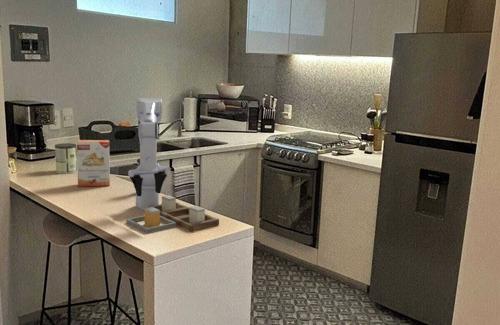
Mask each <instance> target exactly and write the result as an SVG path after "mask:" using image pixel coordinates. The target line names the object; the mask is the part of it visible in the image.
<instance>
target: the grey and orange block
mask: <svg viewBox="0 0 500 325" xmlns="http://www.w3.org/2000/svg"><path fill="white" fill-rule="evenodd" d="M144 215H145V220H144V226H146V227H148V228H151V227H155V226H160V225H161V224H160V222H161V221H160V210H158V209H156V208H154V207H148V208H145V211H144Z"/></svg>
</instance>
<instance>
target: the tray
mask: <svg viewBox="0 0 500 325" xmlns="http://www.w3.org/2000/svg"><path fill="white" fill-rule="evenodd" d="M125 220H126V224H128V225H130V226H132V227H133V228H135V229H138V230H139V231H141V232H143V233H145V234H151V233H154V232H159V231H163V230H169V229H171V228H176V227H177V225H176V222H173V221H171V220H169V219H167V218H164V217H162V216H160V222H162V223H164V224H160V226H155V227H147V226H145V225H142V224H140V223H138V222H142V221H145V214H144V215H140V216H139V215H138V216H135V217H129V218H126V219H125Z"/></svg>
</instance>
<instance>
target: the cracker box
mask: <svg viewBox="0 0 500 325" xmlns="http://www.w3.org/2000/svg"><path fill="white" fill-rule="evenodd" d="M110 155H111V154H110V140H109V139H103V140H102V139H101V140H99V139H98V140H97V139H96V140H94V139H78V140H77V141H76V158H77V187H78V188H79V187H110V186H111V185H110V184H111V175H110V174H111V173H110V172H111V170H110V168H111V167H110V166H111V163H110V160H111V158H110V157H111V156H110Z"/></svg>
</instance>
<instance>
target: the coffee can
mask: <svg viewBox="0 0 500 325" xmlns="http://www.w3.org/2000/svg"><path fill="white" fill-rule="evenodd" d="M54 149H55V150H54V153H55V154H54V155H55V169H56V170H55V173H57V174H62V175H64V174H66V175H67V174H69V175H70V174H75V173H78V164H77V143H69V142H68V143H67V142H64V143H58V144H55V145H54Z"/></svg>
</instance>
